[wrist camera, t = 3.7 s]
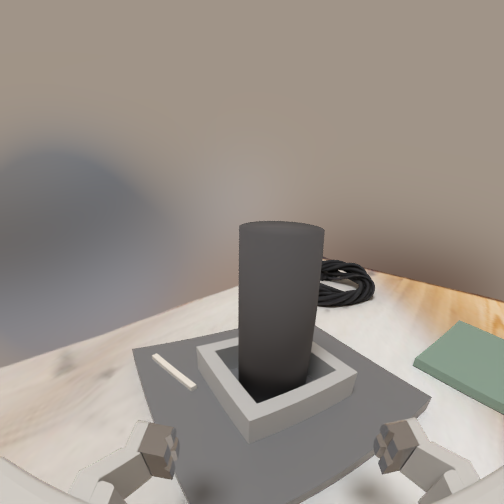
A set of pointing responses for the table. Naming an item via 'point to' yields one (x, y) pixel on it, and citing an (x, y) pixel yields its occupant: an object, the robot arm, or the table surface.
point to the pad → (468, 363)
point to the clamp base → (269, 419)
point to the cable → (353, 273)
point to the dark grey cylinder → (277, 304)
